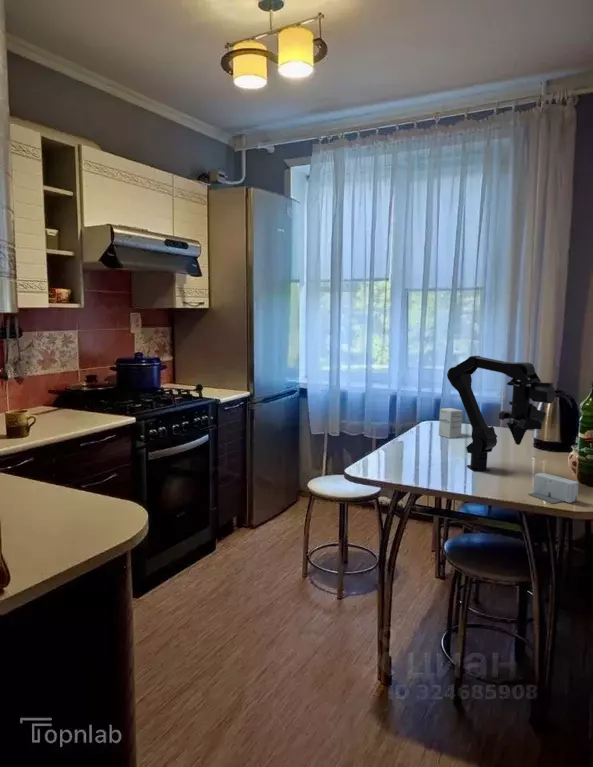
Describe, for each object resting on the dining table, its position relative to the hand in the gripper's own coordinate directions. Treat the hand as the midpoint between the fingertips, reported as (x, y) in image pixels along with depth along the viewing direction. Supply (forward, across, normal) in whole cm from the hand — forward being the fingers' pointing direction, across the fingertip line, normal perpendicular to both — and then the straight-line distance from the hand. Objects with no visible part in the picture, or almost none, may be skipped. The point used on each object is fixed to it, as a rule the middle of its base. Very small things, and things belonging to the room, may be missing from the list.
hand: (517, 444), depth 192 cm
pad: (+12, -20, -1) cm, 23 cm away
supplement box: (+12, +65, -2) cm, 66 cm away
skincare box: (+9, -14, 0) cm, 17 cm away
